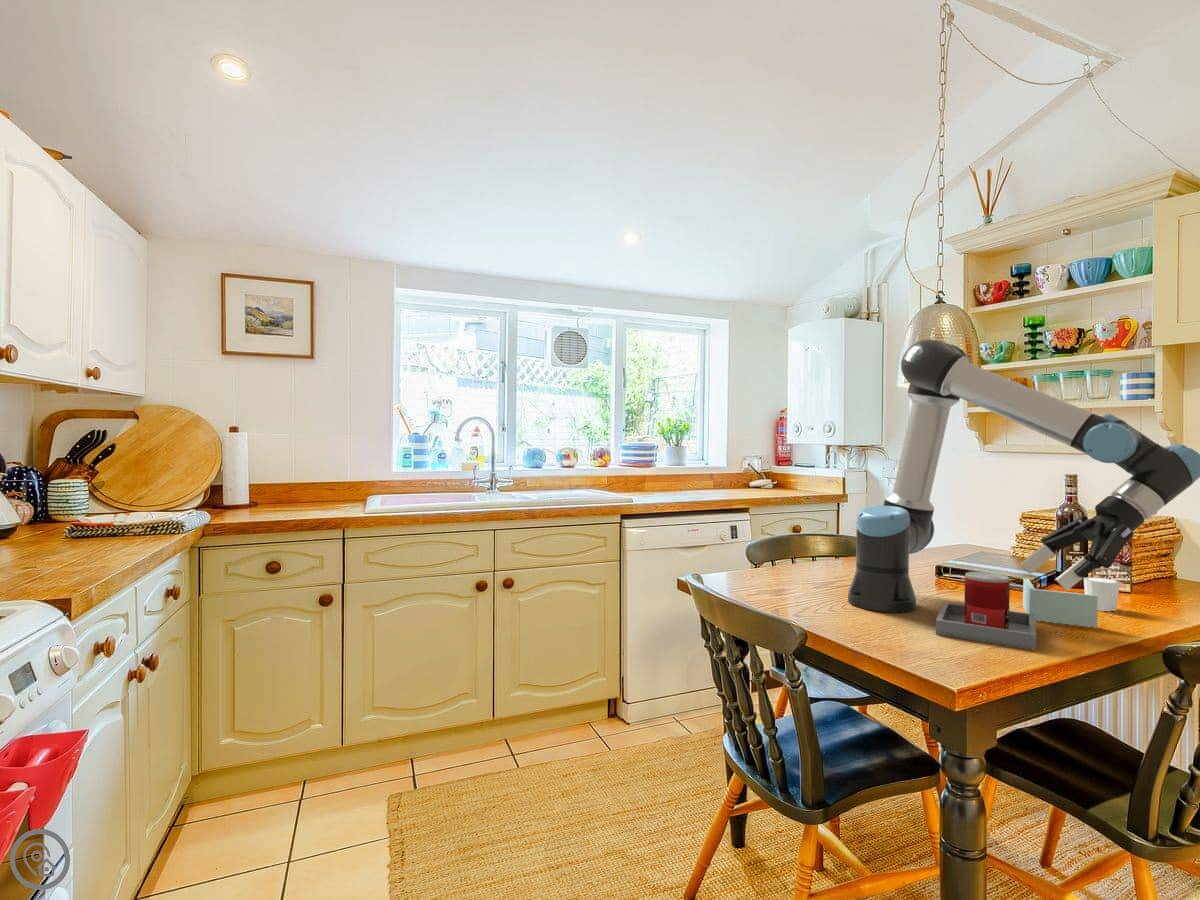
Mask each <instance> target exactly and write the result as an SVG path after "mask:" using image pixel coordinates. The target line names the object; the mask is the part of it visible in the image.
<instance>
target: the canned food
mask: <svg viewBox="0 0 1200 900" xmlns="http://www.w3.org/2000/svg"><path fill="white" fill-rule="evenodd" d="M1010 583H1011V582H1010V577H1009V576H1007V575H1004V574H1002V573H1001V574H1000V573H996V572H987V571H968V572H965V576H964V605H965V611H964V621H965V623H968V624H974V625H981V626H988V627H994V628H1001V629H1008V627H1009V611H1010V591H1011V588H1010V587H1011V585H1010Z"/></svg>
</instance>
